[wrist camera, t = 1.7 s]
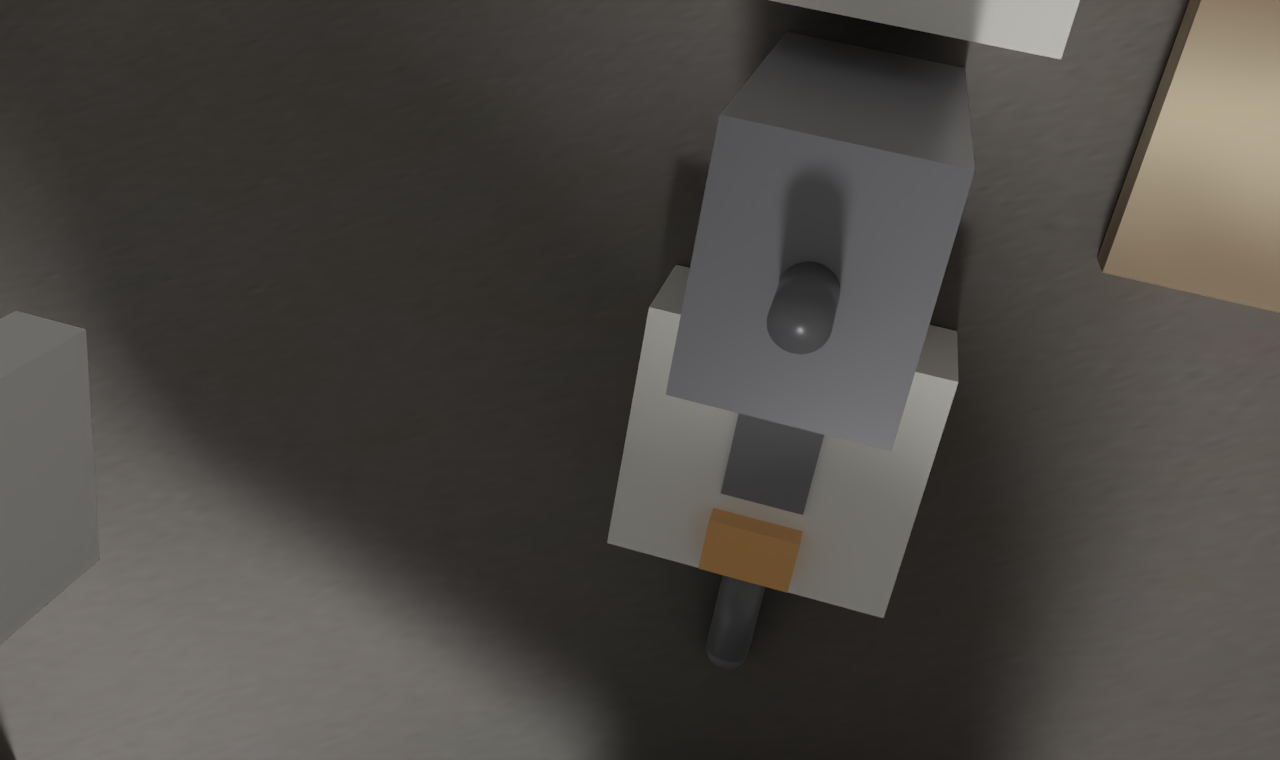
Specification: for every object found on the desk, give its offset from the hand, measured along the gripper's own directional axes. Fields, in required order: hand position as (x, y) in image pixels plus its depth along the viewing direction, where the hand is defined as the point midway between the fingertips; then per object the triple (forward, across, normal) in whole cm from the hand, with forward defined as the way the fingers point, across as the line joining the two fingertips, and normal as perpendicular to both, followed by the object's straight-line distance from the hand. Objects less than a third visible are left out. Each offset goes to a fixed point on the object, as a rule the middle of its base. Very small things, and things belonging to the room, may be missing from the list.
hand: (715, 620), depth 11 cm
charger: (+18, 0, 0) cm, 18 cm away
